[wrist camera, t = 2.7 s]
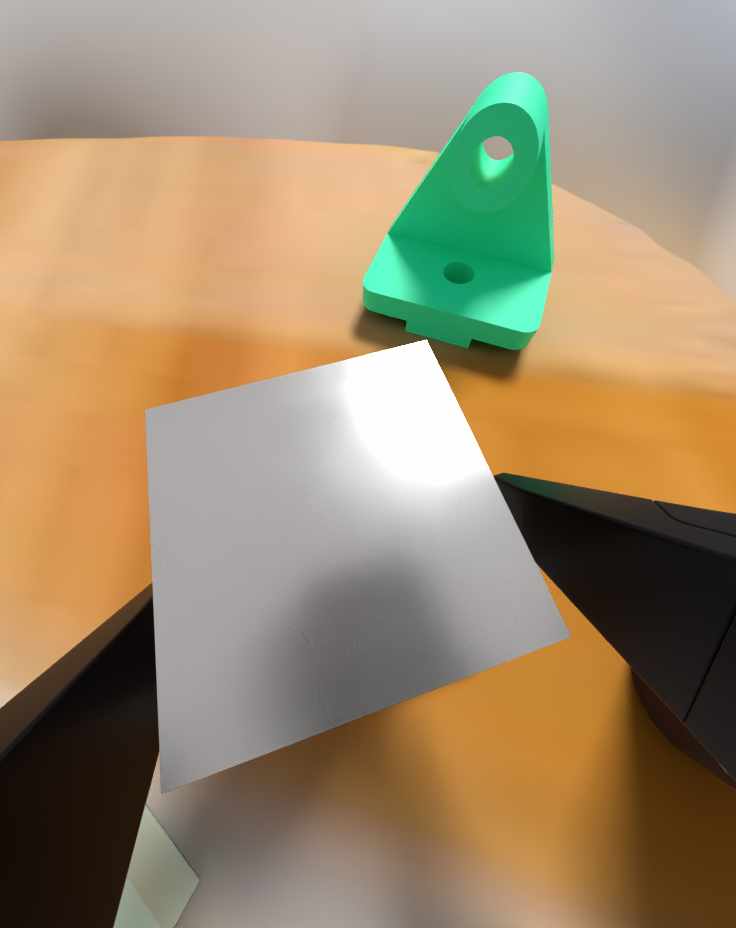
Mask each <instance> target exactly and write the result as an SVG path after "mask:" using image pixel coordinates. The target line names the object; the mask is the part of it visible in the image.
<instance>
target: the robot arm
mask: <svg viewBox="0 0 736 928" xmlns="http://www.w3.org/2000/svg"><path fill="white" fill-rule="evenodd" d="M493 477H494V479H495V481H496V483H497V485H498V487H499V489H500V491H501V493H502V495H503V498H504V500H505V502H506V504H507V506H508V508H509V510H510V512H511V514H512V516H513V518H514V520H515V522H516V524H517V526H518V528H519V530H520V532H521V534H522V536H523V538H524V540H525V542H526V545H527V547H528V549H529V551H530V553H531V555H532V557H533V559H534V561H535V563H536V564H537V565H538V566H539V567H540V568H541V569H542V570H543V571H544V572H545V573H546V575H547V576H548V577H549V578H550V579H551V580H552V581H553V582H554V583H555V584H556V585H557V587H558V588H559V589H560V590H561V591H562V592H563V593H564V594H565V595H566V596H567V597H568V599H569V600H570V601H571V602H572V603H573V604H574V605H575V606H576V607H577V608H578V609H579V611H580V612H581V613H582V614H583V615H584V616H585V617H586V618H587V619H588V620H589V621H590V623H591V624H592V625H593V626H594V627H595V628H596V629H597V630H598V631H599V632H600V633H601V635H602V636H603V637H604V638H605V639H606V640H607V641H608V642H609V643H610V644H611V645H612V647H613V648H614V649H615V650H616V651H617V652H618V653H619V654H620V655H621V656H622V657H623V658H624V660H625V661H626V662H627V663H628V664H629V665H630V666H631V667H632V668H633V669H634V670H635V672H636V673H637V674H638V675H639V676H640V677H641V678H642V679H643V680H644V681H645V682H646V684H647V685H648V686H649V687H650V688H651V689H652V690H653V691H654V692H655V693H656V694H657V696H658V697H659V698H660V699H661V700H662V701H663V702H664V703H665V704H666V705H667V706H668V708H669V709H670V710H671V711H672V712H673V713H674V714H675V715H676V716H677V717H678V718H679V720H680V721H682V722H684V725H685V727H686V728H687V729H688V730H689V731H690V732H691V733H692V734H693V735H694V736H695V737H696V738H697V740H698V741H699V742H700V743H701V744H702V745H703V746H704V747H705V748H706V749H707V750H708V752H709V753H710V754H711V755H712V756H713V757H714V758H715V759H716V760H717V761H718V762H719V764H720V765H721V766H722V767H723V768H724V769H725V770H726V771H727V772H728V773H729V774H730V776H731V777H732V778H733V779H734V780H735V781H736V514H734V513H727V512H721V511H714V510H708V509H702V508H696V507H690V506H684V505H678V504H673V503H667V502H662V501H652V500H650V499H645V498H640V497H634V496H629V495H623V494H618V493H612V492H607V491H601V490H596V489H590V488H585V487H579V486H574V485H568V484H563V483H557V482H552V481H546V480H541V479H535V478H530V477H524V476H519V475H513V474H508V473H501V474H497V475H494V476H493ZM158 754H159V726H158V702H157V678H156V654H155V631H154V607H153V583H151V584H150V585H149V586H147V587H146V588H145V589H144V590H143V591H141V592H140V593H139V594H138V595H137V596H135V597H134V598H133V599H132V600H131V601H129V602H128V603H127V604H126V605H125V606H123V607H122V608H121V609H120V610H118V611H117V612H116V613H115V614H114V615H112V616H111V617H110V618H109V619H108V620H106V621H105V622H104V623H103V624H102V625H100V626H99V627H98V628H97V629H96V630H94V631H93V632H92V633H91V634H89V635H88V636H87V637H86V638H85V639H83V640H82V641H81V642H80V643H79V644H77V645H76V646H75V647H74V648H73V649H71V650H70V651H69V652H68V653H67V654H65V655H64V656H63V657H62V658H61V659H59V660H58V661H57V662H56V663H54V664H53V665H52V666H51V667H50V668H48V669H47V670H46V671H45V672H44V673H42V674H41V675H40V676H39V677H38V678H36V679H35V680H34V681H33V682H32V683H30V684H29V685H28V686H27V687H25V688H24V689H23V690H22V691H21V692H19V693H18V694H17V695H16V696H15V697H13V698H12V699H11V700H10V701H9V702H7V703H6V704H5V705H4V706H3V707H1V708H0V928H114V924H115V920H116V916H117V912H118V909H119V905H120V901H121V897H122V893H123V889H124V885H125V882H126V878H127V874H128V870H129V866H130V862H131V858H132V855H133V851H134V847H135V843H136V839H137V835H138V831H139V828H140V824H141V820H142V816H143V812H144V808H145V804H146V801H147V797H148V793H149V789H150V785H151V781H152V777H153V774H154V770H155V766H156V762H157V758H158Z"/></svg>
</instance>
